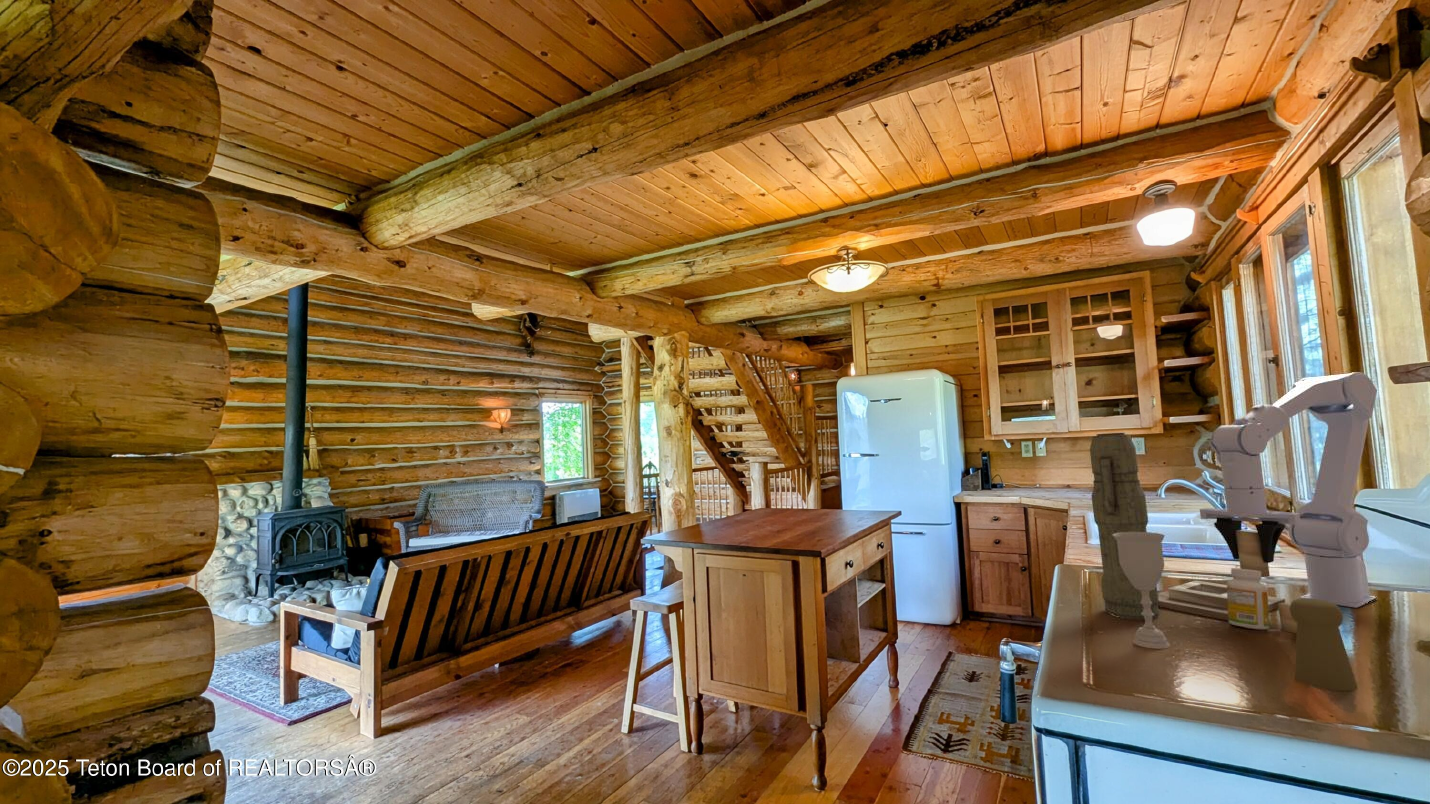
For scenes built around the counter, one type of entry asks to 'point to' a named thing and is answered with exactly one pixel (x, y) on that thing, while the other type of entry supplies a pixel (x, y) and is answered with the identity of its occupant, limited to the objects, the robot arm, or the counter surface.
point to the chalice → (1143, 577)
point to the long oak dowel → (1251, 552)
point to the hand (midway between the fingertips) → (1253, 560)
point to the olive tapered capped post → (1321, 646)
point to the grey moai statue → (1118, 519)
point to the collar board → (1205, 607)
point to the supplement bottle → (1247, 600)
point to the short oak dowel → (1287, 618)
